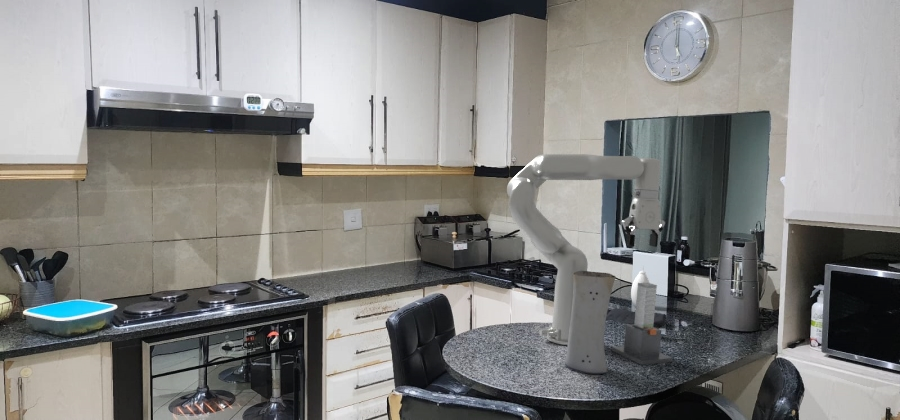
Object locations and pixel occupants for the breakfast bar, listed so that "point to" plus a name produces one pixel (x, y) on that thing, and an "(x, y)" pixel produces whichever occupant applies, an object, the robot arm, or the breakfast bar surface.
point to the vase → (589, 322)
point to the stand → (642, 346)
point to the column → (645, 306)
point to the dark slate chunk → (629, 317)
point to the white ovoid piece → (639, 279)
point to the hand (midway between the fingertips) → (641, 246)
